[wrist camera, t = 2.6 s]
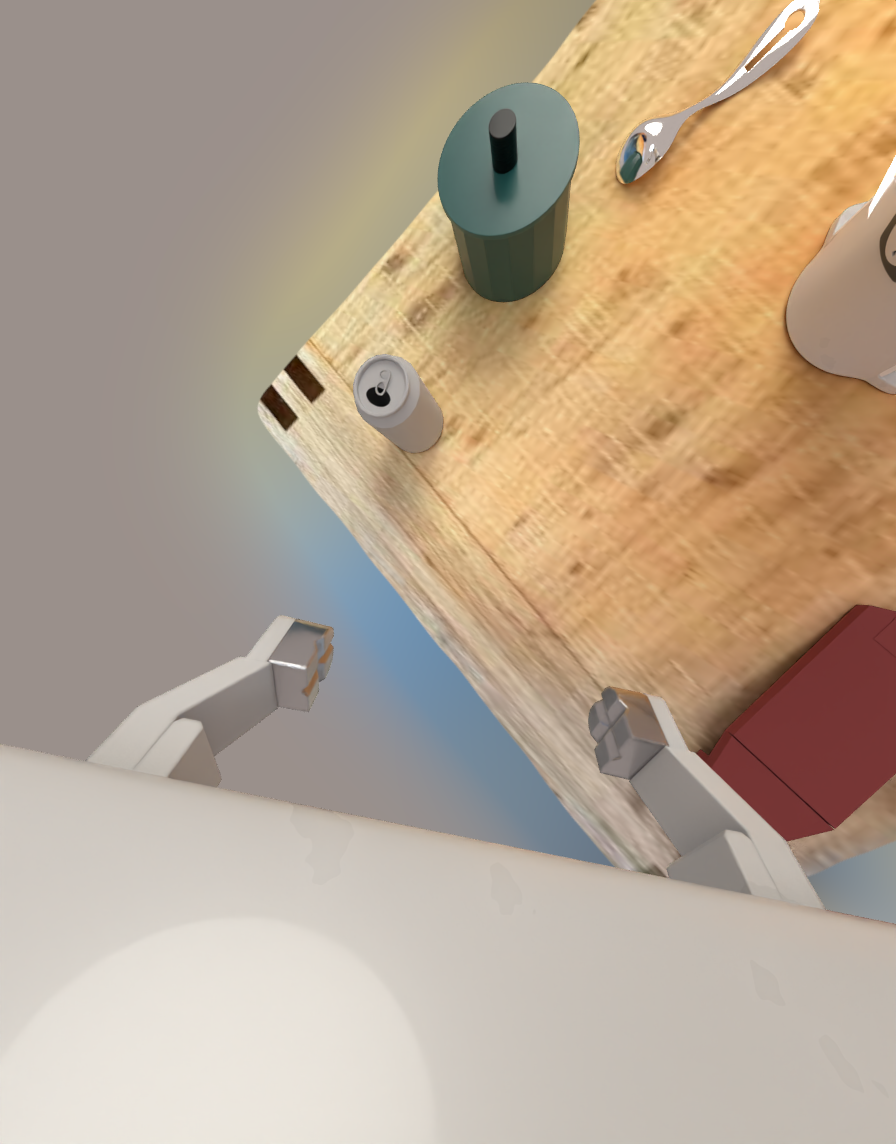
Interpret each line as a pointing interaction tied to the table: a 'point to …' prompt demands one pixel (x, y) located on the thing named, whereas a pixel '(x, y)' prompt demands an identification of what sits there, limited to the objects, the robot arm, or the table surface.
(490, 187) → the pot lid
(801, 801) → the dark red sloped ramp
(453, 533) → the table surface
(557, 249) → the pot
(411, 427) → the can
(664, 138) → the silver spoon
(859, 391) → the table surface
